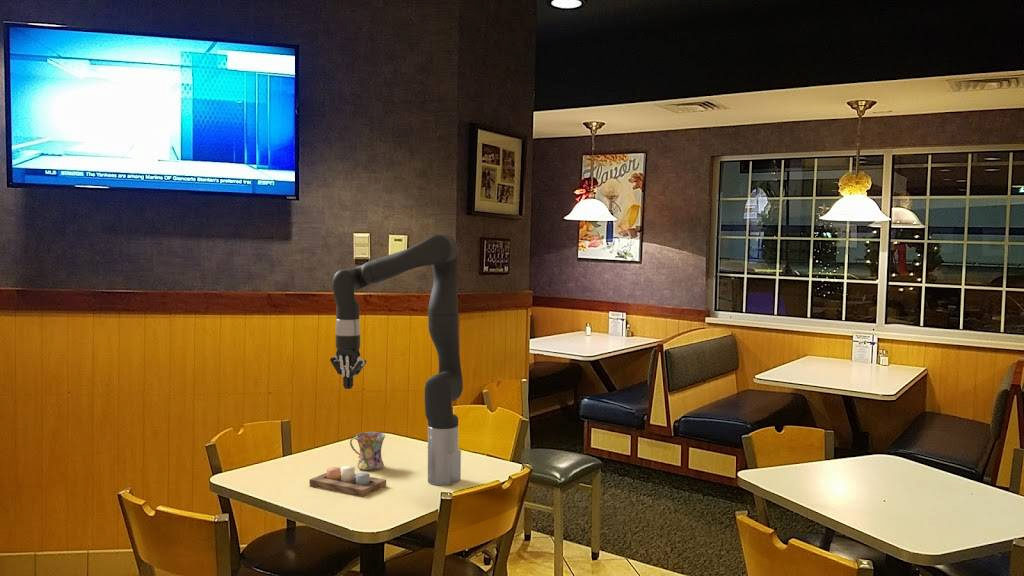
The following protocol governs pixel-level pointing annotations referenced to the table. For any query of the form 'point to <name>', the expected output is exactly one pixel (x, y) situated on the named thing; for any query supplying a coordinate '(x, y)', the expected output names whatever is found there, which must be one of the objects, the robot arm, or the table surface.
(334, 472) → the salmon pink cube
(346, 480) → the button mid
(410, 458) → the table surface
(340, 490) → the button board
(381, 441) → the mug
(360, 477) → the light blue cube
